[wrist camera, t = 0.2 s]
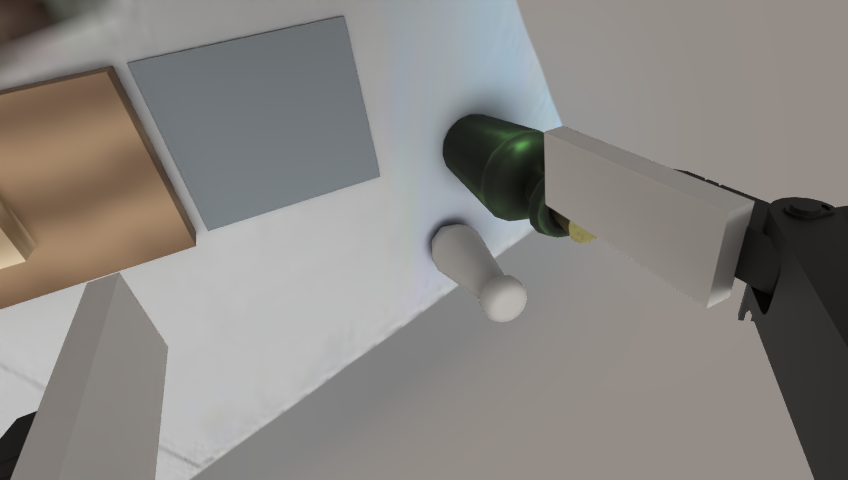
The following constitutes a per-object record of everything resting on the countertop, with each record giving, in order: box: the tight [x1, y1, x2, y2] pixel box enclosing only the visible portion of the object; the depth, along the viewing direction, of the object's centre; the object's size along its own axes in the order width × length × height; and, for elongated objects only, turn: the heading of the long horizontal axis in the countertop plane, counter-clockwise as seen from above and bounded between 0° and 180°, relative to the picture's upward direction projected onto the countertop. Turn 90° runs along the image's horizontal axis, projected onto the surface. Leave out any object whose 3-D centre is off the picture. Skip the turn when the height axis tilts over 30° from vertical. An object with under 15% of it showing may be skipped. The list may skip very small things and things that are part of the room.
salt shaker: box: [431, 224, 528, 322], centre depth 46 cm, size 6×6×13 cm
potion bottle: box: [443, 114, 597, 243], centre depth 39 cm, size 8×8×18 cm
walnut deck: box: [0, 66, 196, 309], centre depth 32 cm, size 14×20×2 cm
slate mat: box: [127, 16, 380, 231], centre depth 38 cm, size 14×16×1 cm
